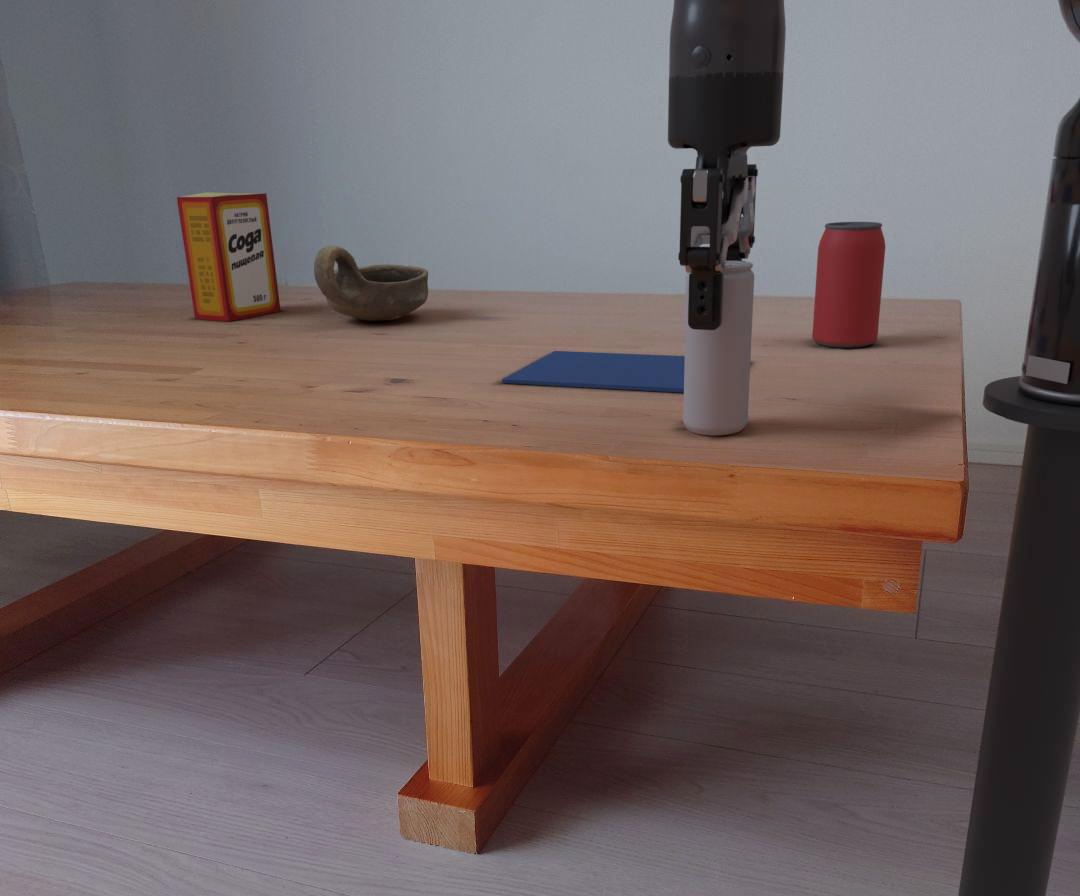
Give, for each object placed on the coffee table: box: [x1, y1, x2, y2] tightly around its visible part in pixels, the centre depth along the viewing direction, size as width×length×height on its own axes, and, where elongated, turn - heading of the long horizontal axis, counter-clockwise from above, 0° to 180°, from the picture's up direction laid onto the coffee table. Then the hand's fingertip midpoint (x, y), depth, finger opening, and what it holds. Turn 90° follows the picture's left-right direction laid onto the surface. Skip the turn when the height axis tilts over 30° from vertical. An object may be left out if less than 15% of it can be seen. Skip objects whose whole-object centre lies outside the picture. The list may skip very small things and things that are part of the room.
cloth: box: [501, 350, 685, 394], centre depth 95 cm, size 20×14×1 cm
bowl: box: [313, 245, 429, 322], centre depth 128 cm, size 14×18×10 cm
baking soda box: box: [176, 192, 281, 322], centre depth 136 cm, size 10×6×16 cm
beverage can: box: [682, 260, 755, 437], centre depth 73 cm, size 5×5×12 cm
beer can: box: [811, 221, 886, 349], centre depth 103 cm, size 7×7×12 cm
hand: (716, 319), depth 73 cm, fingers open, 7 cm apart
